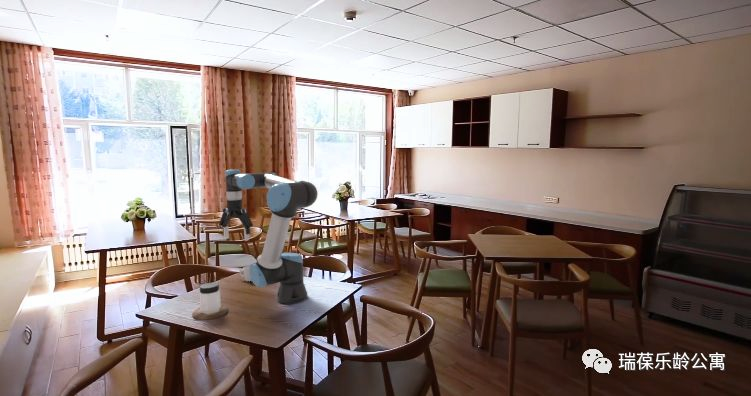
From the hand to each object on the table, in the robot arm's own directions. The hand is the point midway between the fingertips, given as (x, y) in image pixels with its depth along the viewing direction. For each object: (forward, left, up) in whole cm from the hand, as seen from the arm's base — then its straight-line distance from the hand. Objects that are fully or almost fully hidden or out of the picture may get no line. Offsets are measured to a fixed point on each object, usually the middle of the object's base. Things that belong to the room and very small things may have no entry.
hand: (236, 239), depth 203 cm
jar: (-7, +27, -28) cm, 39 cm away
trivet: (-7, +27, -29) cm, 40 cm away
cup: (+10, -19, -29) cm, 36 cm away
